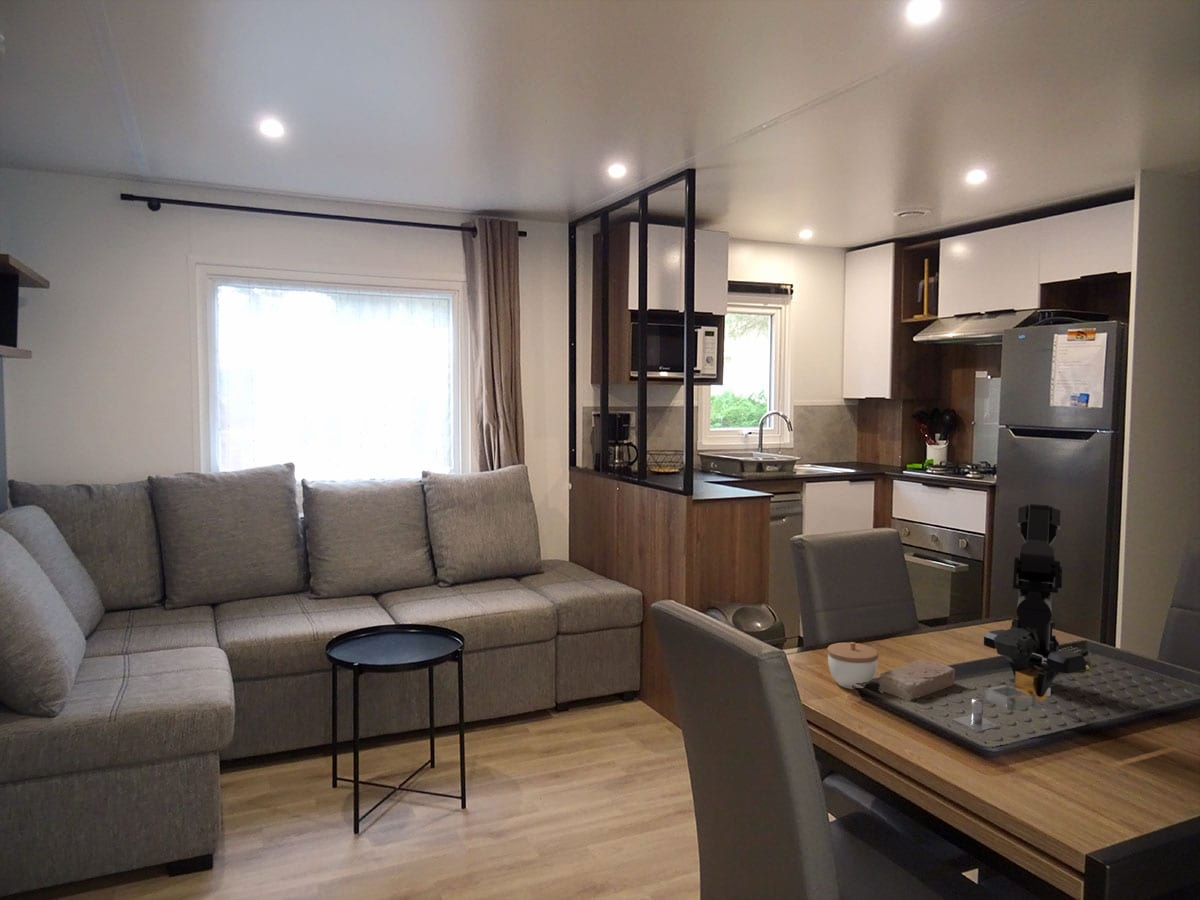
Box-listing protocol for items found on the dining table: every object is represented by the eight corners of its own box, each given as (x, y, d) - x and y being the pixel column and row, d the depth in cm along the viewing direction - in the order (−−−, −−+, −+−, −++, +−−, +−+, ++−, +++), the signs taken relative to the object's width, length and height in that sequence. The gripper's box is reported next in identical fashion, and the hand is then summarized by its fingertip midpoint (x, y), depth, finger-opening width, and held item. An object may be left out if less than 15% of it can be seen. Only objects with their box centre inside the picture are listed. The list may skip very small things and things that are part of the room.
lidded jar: (819, 676, 181) (820, 635, 180) (865, 674, 182) (866, 634, 181) (837, 694, 170) (838, 651, 170) (885, 692, 171) (887, 650, 171)
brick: (910, 705, 165) (911, 683, 165) (876, 692, 172) (876, 671, 171) (956, 689, 174) (956, 668, 174) (921, 677, 181) (922, 657, 181)
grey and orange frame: (1032, 688, 163) (1033, 664, 162) (1061, 699, 157) (1062, 675, 156) (983, 698, 157) (984, 674, 157) (1011, 710, 151) (1012, 685, 151)
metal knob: (974, 717, 157) (975, 692, 156) (1000, 729, 151) (1001, 703, 151) (952, 722, 154) (952, 696, 154) (977, 735, 149) (978, 708, 148)
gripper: (965, 607, 162) (962, 682, 163) (1048, 633, 145) (1045, 716, 146) (1004, 602, 166) (1001, 675, 168) (1090, 626, 149) (1086, 707, 151)
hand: (1030, 692), depth 158 cm, fingers closed on grey and orange frame, 4 cm apart
